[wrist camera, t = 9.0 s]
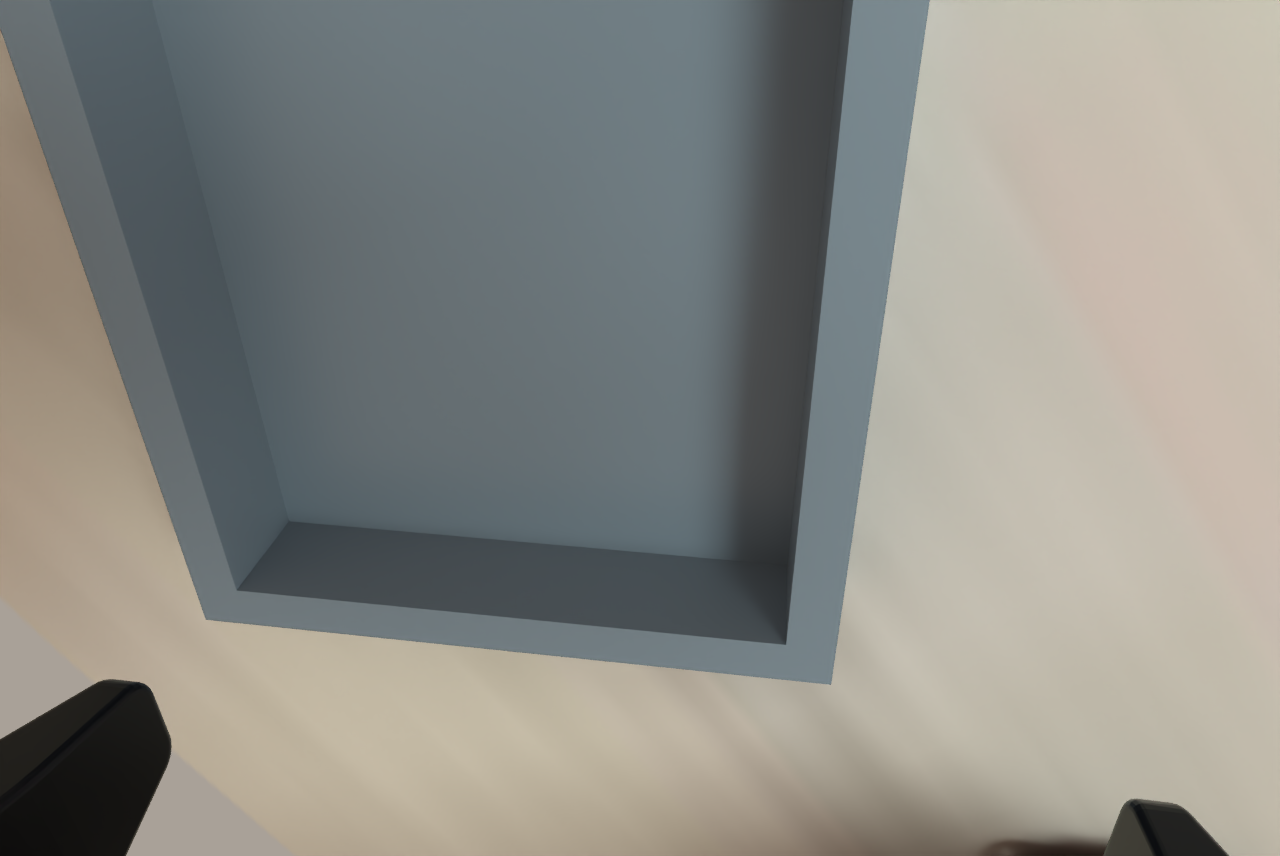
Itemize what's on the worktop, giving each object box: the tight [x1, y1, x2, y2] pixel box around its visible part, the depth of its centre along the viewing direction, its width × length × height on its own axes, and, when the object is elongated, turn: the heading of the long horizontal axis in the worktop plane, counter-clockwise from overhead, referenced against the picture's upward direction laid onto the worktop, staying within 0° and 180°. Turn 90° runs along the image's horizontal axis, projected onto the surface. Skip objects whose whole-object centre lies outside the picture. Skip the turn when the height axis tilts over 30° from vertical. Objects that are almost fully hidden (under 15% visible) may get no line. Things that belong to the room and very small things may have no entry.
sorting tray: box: [0, 0, 930, 685], centre depth 16 cm, size 21×14×3 cm, turn 0°
